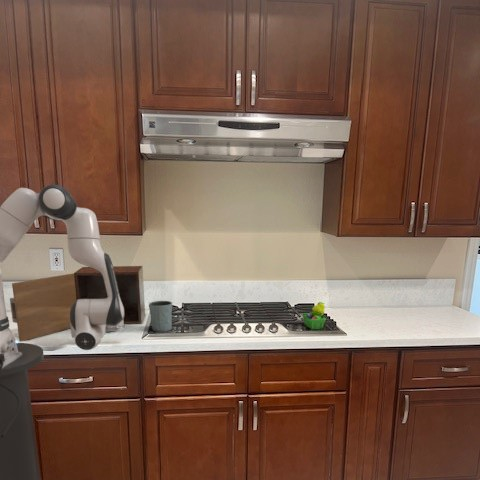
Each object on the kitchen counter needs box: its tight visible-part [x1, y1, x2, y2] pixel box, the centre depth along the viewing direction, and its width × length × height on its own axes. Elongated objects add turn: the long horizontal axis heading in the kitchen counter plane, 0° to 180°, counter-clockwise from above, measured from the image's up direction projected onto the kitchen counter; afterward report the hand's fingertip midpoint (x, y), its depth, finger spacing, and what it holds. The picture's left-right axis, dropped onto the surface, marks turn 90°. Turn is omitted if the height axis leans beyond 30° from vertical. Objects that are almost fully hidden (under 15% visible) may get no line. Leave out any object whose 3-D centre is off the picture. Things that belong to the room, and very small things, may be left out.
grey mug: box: [148, 300, 173, 333], centre depth 206 cm, size 10×10×12 cm
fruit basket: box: [301, 301, 327, 331], centre depth 210 cm, size 11×9×11 cm
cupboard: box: [73, 265, 146, 325], centre depth 220 cm, size 18×28×24 cm, turn 96°
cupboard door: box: [9, 273, 77, 343], centre depth 200 cm, size 7×28×24 cm, turn 146°
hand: (100, 319), depth 192 cm, fingers open, 8 cm apart
